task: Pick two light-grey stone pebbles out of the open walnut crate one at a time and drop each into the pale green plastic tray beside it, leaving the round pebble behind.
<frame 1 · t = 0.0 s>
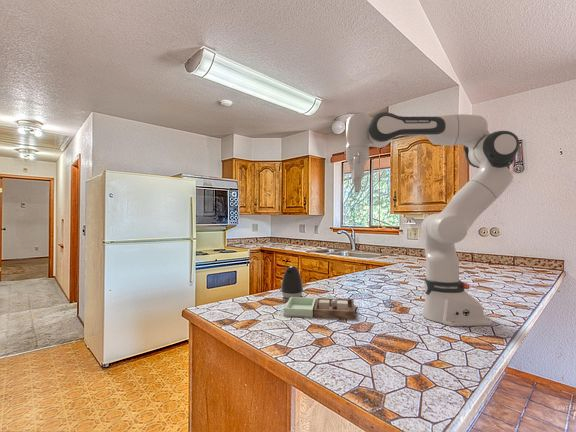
hand: (357, 191, 118), 48 cm above the counter, fingers open, 8 cm apart
green tray: (300, 311, 121), on the counter
round pebble: (334, 307, 123), point 1 cm above the counter, touching walnut crate
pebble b: (324, 311, 118), point 1 cm above the counter, touching walnut crate
black rounded cone: (292, 298, 140), on the counter
walnut crate: (334, 313, 119), on the counter
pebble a: (342, 312, 117), point 1 cm above the counter, touching walnut crate
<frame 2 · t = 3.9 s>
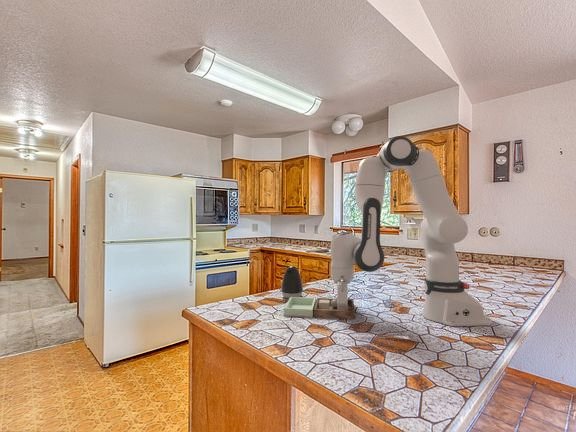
hand: (342, 309, 117), 2 cm above the counter, fingers closed on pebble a, 4 cm apart
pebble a: (342, 312, 117), point 1 cm above the counter, touching gripper, walnut crate
everything else where it was.
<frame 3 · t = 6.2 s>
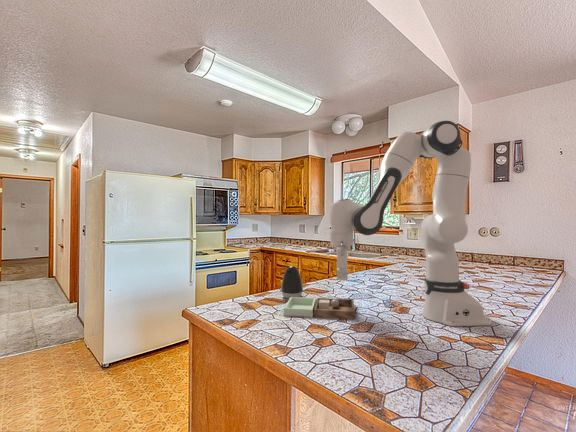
hand: (342, 276, 117), 15 cm above the counter, fingers closed on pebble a, 4 cm apart
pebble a: (342, 279, 117), point 14 cm above the counter, touching gripper
everything else where it was.
when the fingers open (6 cm above the counter, at t = 8.6 s): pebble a drops 4 cm, resting on green tray.
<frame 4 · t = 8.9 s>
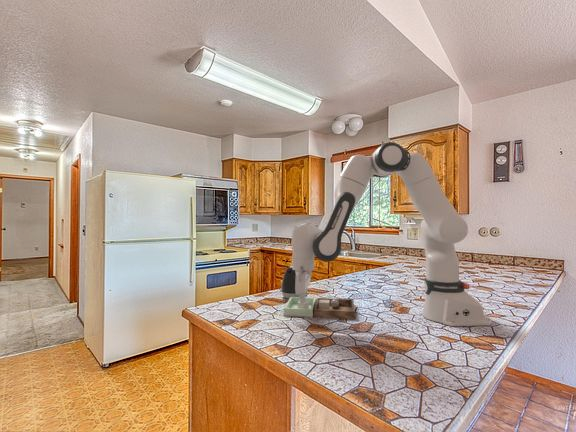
hand: (303, 299, 118), 6 cm above the counter, fingers open, 6 cm apart
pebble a: (303, 312, 118), point 1 cm above the counter, touching green tray
everything else where it was.
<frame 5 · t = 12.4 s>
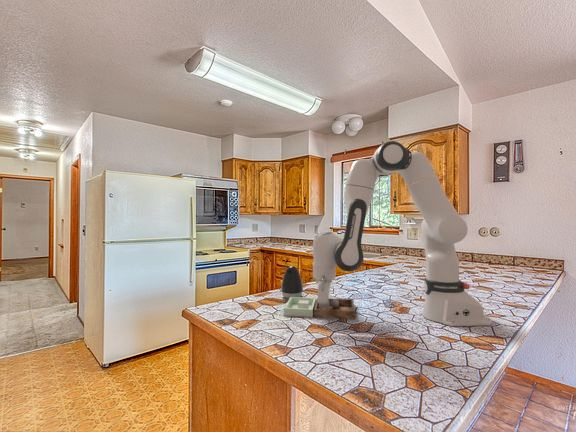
hand: (324, 308, 118), 2 cm above the counter, fingers closed on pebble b, 4 cm apart
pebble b: (324, 311, 118), point 1 cm above the counter, touching gripper, walnut crate
everything else where it was.
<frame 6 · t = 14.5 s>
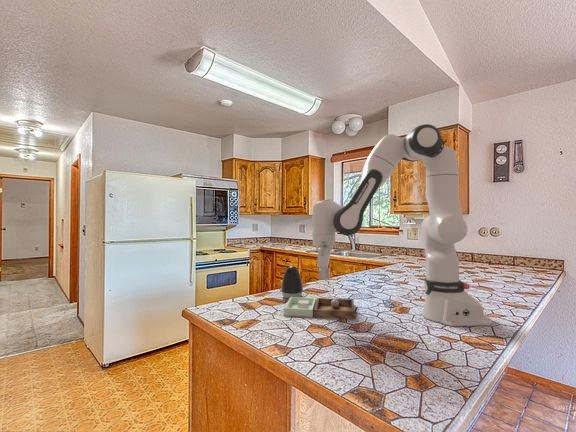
hand: (324, 276, 118), 15 cm above the counter, fingers closed on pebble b, 4 cm apart
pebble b: (324, 278, 118), point 14 cm above the counter, touching gripper
everything else where it was.
when the fingers open (6 cm above the counter, at t = 16.8 s): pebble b drops 4 cm, resting on green tray.
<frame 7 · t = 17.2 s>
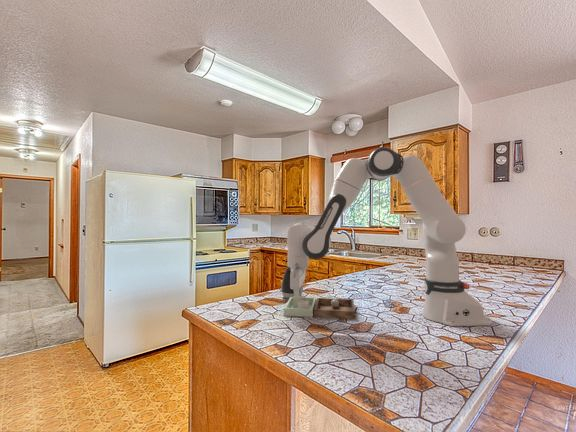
hand: (298, 295, 125), 6 cm above the counter, fingers open, 8 cm apart
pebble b: (298, 306, 125), point 1 cm above the counter, touching green tray
everything else where it was.
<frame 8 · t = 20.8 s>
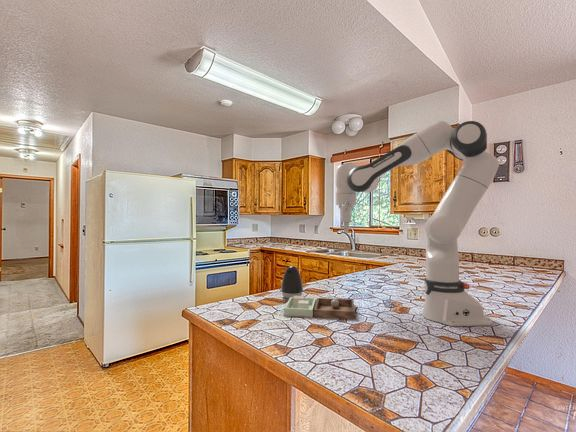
hand: (346, 232, 132), 31 cm above the counter, fingers open, 8 cm apart
nothing on the counter moved.
at the end: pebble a inside the target area on the green tray (3.4 cm from its centre), point 0.8 cm above the green tray's base; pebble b inside the target area on the green tray (3.8 cm from its centre), point 0.8 cm above the green tray's base; the gripper is holding nothing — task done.
